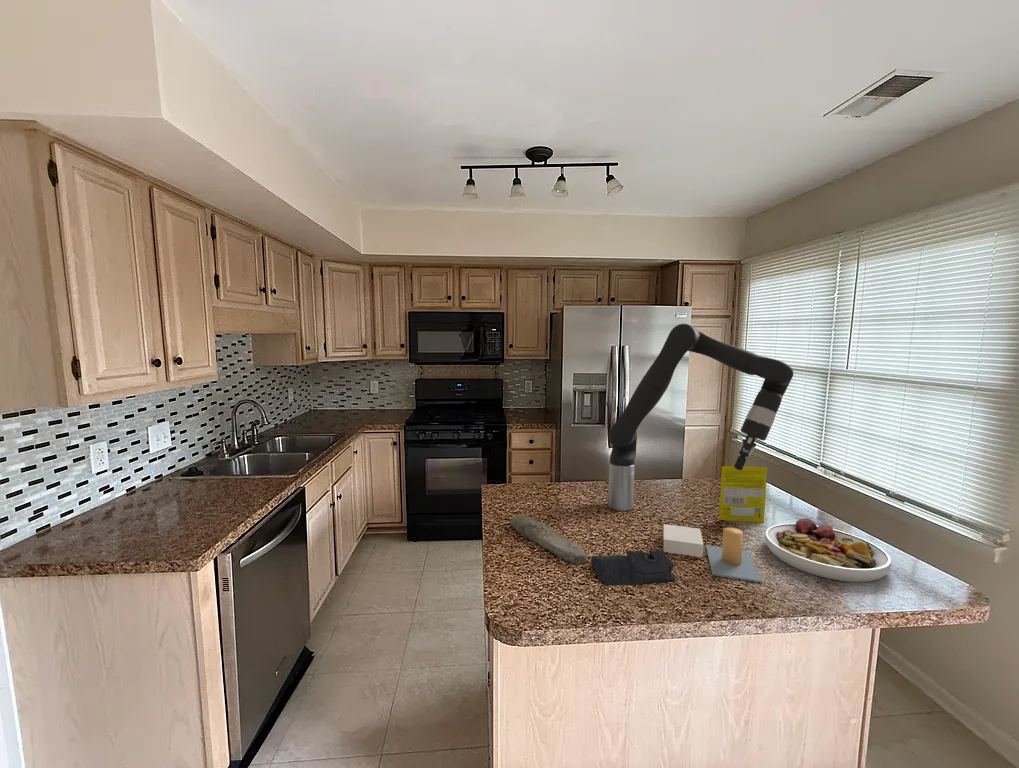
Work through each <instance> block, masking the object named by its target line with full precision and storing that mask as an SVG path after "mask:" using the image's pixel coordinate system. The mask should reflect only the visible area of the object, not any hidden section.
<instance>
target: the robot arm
mask: <svg viewBox="0 0 1019 768" xmlns="http://www.w3.org/2000/svg"><path fill="white" fill-rule="evenodd" d="M687 352H691V353H695V354H699V355H703V356H706V357H709V358H711V359H713V360H716V362H718V363H721V364H722V365H725V366H727V367H729V368H731V369H734V370H736V371H739V372H741V373H744V374H746V375H748V376H749V375H750V376H757V377H760V378H763V383H762V385H761V387H760V389H759V392H758V393H757V394H756V396H755V398H754V401H753V403H752V405H751V407H750V409H749V410H748V411H747V414H746V415H745V416H746V417H745V419H744V422H743V424H742V426H741V428H740V432H741V433H742V434H744V435H746V436H745V438H743V439H742V441H741V443H740V444H741V445H740V446H739V452H738V455H737V458H736V461H735V463H734V467H735V469H738V470H740V471H741V470H742V468H743V467H745V463H746V462H747V460H748V459H749V457H750V456H751V455H752V453H753V451H754V450H755V449H756V446H757V443H755V442H756V440H760V441H766V440H767V438H768V435H769V433H770V431H771V428H772V426H773V424H774V422H775V419H776V415H777V413H778V411H779V408H780V406H781V403H782V399H783V397H784V396H785V393H786V391H787V389H788V387H789V386H790V384H791V381H792V379H793V378H794V370H793V368H792V367H791V365H789V364H788V363H786V362H784V361H782V360H779V359H775V358H771V357H766V356H762V355H759V354H757V353H754V352H752V351H749V350H747V349H744V348H742V347H738V346H735V345H732V344H728V343H726V342H723V341H720V340H717V339H715V338H713V337H710V336H708V335H707V334H705V333H703V332H701V331H700V330H699V329H697V328H696V327H695V326H693V325H691V324H689V323H688V324H687V323H680V324H678V325H677V324H676V326H674V327H673V328H672V329H671V330H670V332H669V334H668V336H667V337H666V340H665V342H664V344H663V346H662V347H661V350H660V352H659V354H658V355H657V357H656V358H655V359H654V361H653V362H652V364H651V365H650V366H649V368H648V369H647V371H646V373H645V374H644V376H643V377H642V379H641V381H640V382H639V384H638V385H637V386H636V389H635V390H634V392H633V394H632V396H631V398H630V399H629V401H628V403H627V405H626V407H625V409H624V411H623V412H622V413H621V415H620V416H619V417H618V419H617V420H616V421H615V423H614V424H613V425H612V426H611V427H610V429H609V430H608V441H609V442H610V444H611V445H612V448H611V452H610V455H609V476H608V478H609V481H608V487H607V488H608V490H607V493H608V494H607V508H608V507H609V508H610V509H612V510H614V511H619V512H620V511H622V512H626V511H632V510H633V509H634V490H635V489H634V487H635V459H636V455H637V443H638V442H637V441H638V438H637V437H638V431H637V430H638V429H639V427H640V425H641V423H642V422H643V420H644V419H645V418H646V417H647V416H648V415H649V414H650V412H652V410H653V409H654V408H655V407H656V405H657V404H658V403H659V402H660V400H661V399H662V397H663V396H664V394H665V393H666V391H667V390H668V388H669V385H670V383H671V381H672V379H673V376H674V373H675V370H676V368H677V366H678V364H679V362H680V361H681V360H682V359H683V358H684V356H685V355H686V353H687Z"/></svg>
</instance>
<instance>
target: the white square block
mask: <svg viewBox="0 0 1019 768" xmlns="http://www.w3.org/2000/svg"><path fill="white" fill-rule="evenodd" d="M662 535H663V536H662V537H663V538H662V539H663V540H662V541H663V550H664V552H665V553H667V552H668V554H674V553H676V555H681V554H682V556H687V555H689V557H694V556H695V558H701V557H702V558H704V541H703V537H702V531H701V528H697V527H689V526H679V525H675V524H674V525H673V524H665V523H664V524H663V533H662Z"/></svg>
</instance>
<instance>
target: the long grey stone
mask: <svg viewBox="0 0 1019 768" xmlns="http://www.w3.org/2000/svg"><path fill="white" fill-rule="evenodd" d="M510 527H513V529H514V530H515V531H516V533H519V534H520V535H521V537H523V538H526V539H529V540H530V541H531V542H533V543H535V544H538V545H539V546H541V547H542V549H546V550H547V551H550V552H551V553H552V554H554V555H555V556H557V557H558V558H560V559H562V560H564V561H565V562H569V563H572V564H575V565H579V564H580V565H581V564H585V563H586V562H587V558H588V555H587V553H586V552H585V551H586V550H584V549H583V548H582V547H581V546H580V545H578V544H576V543H574V542H573V541H572V540H570V539H568V538H567V537H564V536H563V535H562V534H560V533H558V532H557V531H555V530H554V529H552V527H551V526H550V525H549V524H546V523H544V522H542V521H539V520H538V519H533V518H531V517H527V516H525V515H513V516H511V518H510Z"/></svg>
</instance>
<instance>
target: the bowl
mask: <svg viewBox="0 0 1019 768" xmlns="http://www.w3.org/2000/svg"><path fill="white" fill-rule="evenodd" d="M764 541H765V544H766V546H767V547H768V549H769V550H770V552H771V553H773V555H774V556H776V557H777V558H778V559H779V560H781V561H782V562H784V563H785V564H787V565H789V566H791V567H793V568H795V569H798V570H800V571H802V572H805V573H808V574H809V575H810V574H811V575H813V576H817V577H820V578H825V579H828V580H834V581H838V580H839V581H840V582H846V583H847V582H848V583H867V582H873V581H877V580H879V579H881V578H883V577H884V576H886V575H887V574H888V573H889V572H890V570H891V566H892V558H891V556H890V554H888V552H886V551H885V550H884V549H883V548H882V547H880V546H878V545H877V544H875V543H873V542H872V541H868V540H867V539H864V538H863V537H859V536H857V535H854V534H852V533H848V532H846V531H842V530H838V529H834V528H833V527H832V526H831V525H829V524H825V523H824V524H821V525H817V523H816V522H815V521H814V520H812V519H811V518H800V519H798V520H797V521H796V523H792V522H791V523H780V524H779V523H778V524H774V525H771V526H770V527H768V528H766V530H765V534H764Z"/></svg>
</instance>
